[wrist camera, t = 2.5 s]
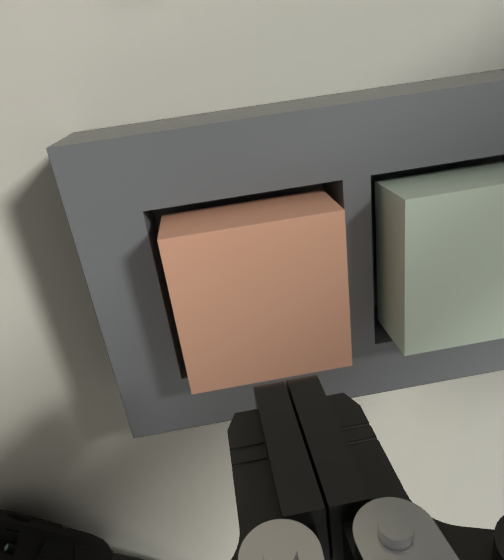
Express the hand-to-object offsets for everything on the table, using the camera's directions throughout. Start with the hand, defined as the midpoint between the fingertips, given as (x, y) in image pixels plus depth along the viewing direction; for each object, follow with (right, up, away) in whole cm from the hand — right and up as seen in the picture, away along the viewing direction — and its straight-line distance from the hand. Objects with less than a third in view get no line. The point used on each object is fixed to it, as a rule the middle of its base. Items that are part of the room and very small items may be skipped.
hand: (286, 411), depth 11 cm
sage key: (+7, +5, +8) cm, 12 cm away
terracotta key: (-1, +3, +8) cm, 8 cm away
